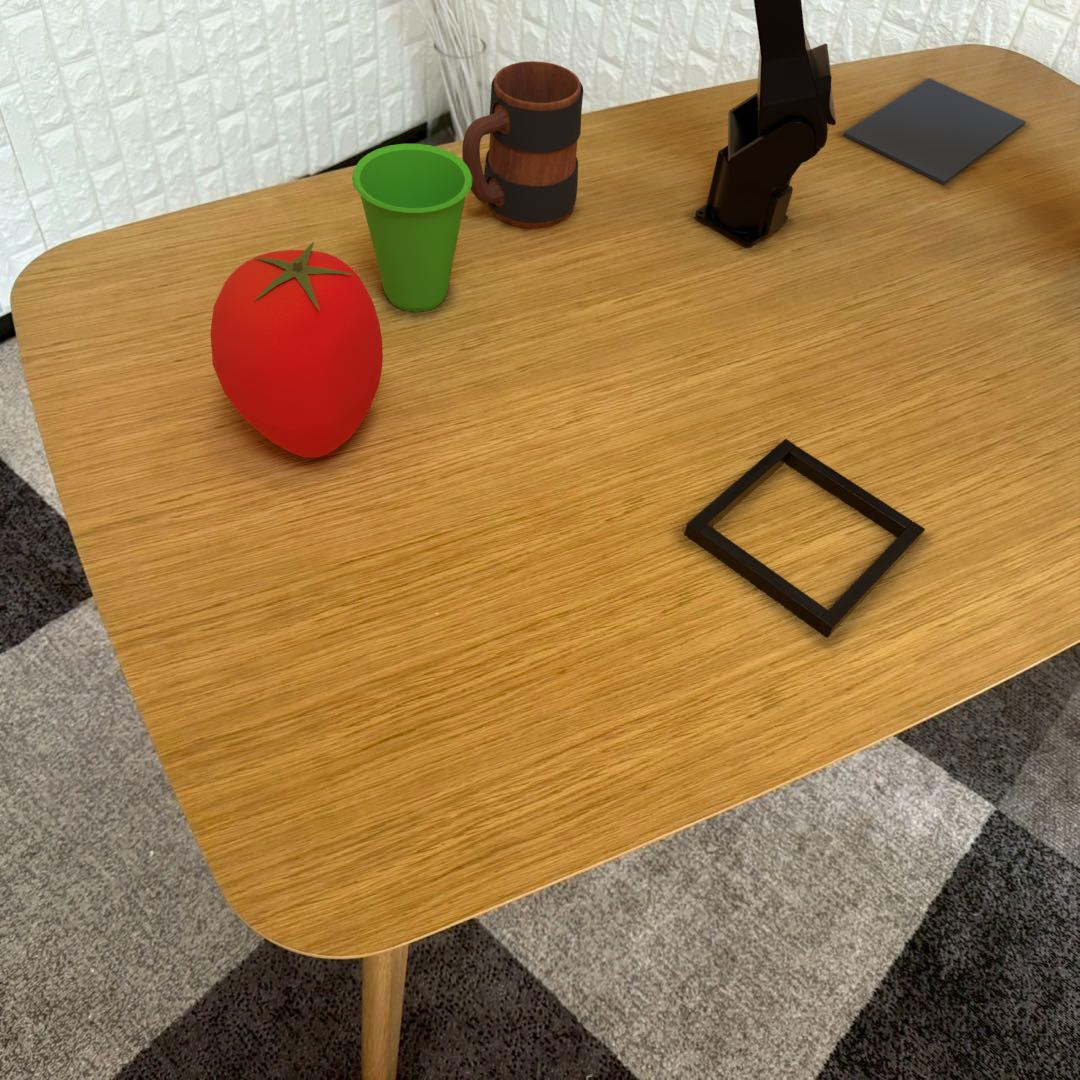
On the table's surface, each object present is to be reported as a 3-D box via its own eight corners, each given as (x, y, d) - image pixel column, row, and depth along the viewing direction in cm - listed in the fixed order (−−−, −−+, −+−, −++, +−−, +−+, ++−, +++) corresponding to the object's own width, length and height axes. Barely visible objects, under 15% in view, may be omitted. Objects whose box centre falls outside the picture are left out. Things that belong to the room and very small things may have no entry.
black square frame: (683, 534, 71) (687, 523, 70) (781, 449, 77) (785, 438, 76) (827, 638, 66) (832, 627, 65) (919, 539, 72) (925, 528, 71)
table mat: (842, 135, 107) (844, 132, 106) (928, 81, 116) (929, 78, 115) (943, 184, 102) (945, 181, 102) (1024, 124, 111) (1025, 121, 111)
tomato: (395, 477, 72) (385, 320, 61) (230, 492, 70) (190, 332, 59) (379, 359, 80) (368, 200, 69) (230, 370, 78) (194, 208, 67)
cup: (386, 339, 82) (379, 220, 73) (345, 274, 86) (334, 155, 78) (487, 312, 85) (492, 194, 76) (443, 250, 89) (442, 133, 81)
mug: (434, 208, 93) (433, 84, 84) (535, 168, 99) (543, 48, 89) (492, 255, 89) (497, 131, 80) (594, 211, 95) (609, 90, 86)
